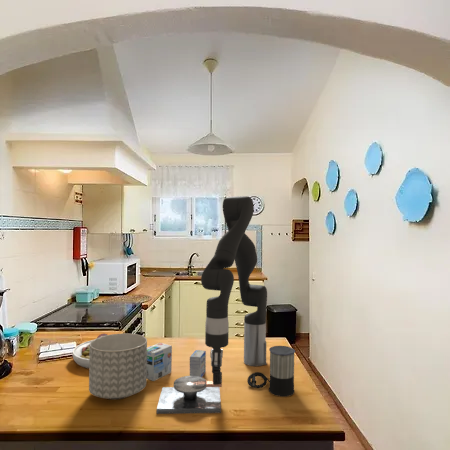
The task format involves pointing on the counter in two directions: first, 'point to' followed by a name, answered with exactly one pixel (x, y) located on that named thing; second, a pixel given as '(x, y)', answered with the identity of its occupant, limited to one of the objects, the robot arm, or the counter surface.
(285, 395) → the milk frother
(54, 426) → the counter surface
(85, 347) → the bowl
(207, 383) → the handwheel
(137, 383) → the planter
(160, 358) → the light bulb box
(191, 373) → the medicine box
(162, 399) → the base
